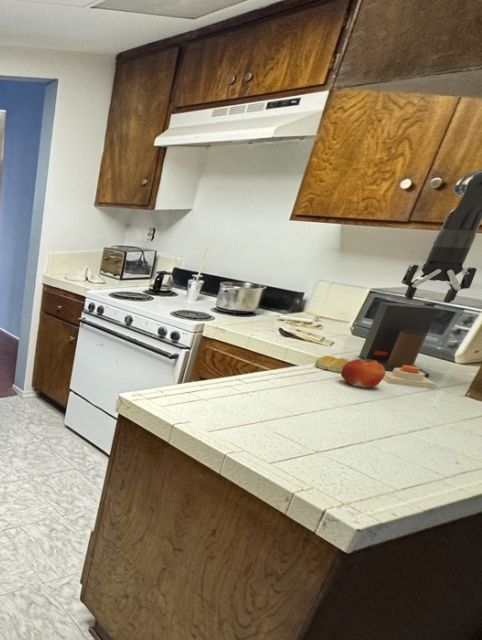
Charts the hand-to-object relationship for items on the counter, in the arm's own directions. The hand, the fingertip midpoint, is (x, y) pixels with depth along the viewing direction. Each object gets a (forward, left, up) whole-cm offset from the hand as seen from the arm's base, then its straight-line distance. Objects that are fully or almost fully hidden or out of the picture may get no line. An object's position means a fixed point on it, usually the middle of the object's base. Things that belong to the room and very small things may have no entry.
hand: (427, 300), depth 143 cm
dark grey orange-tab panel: (0, -4, -23) cm, 24 cm away
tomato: (+16, +23, -23) cm, 36 cm away
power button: (+2, +12, -20) cm, 23 cm away
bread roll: (+18, +7, -23) cm, 30 cm away
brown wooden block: (0, 0, -21) cm, 21 cm away
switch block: (+2, +12, -23) cm, 26 cm away
